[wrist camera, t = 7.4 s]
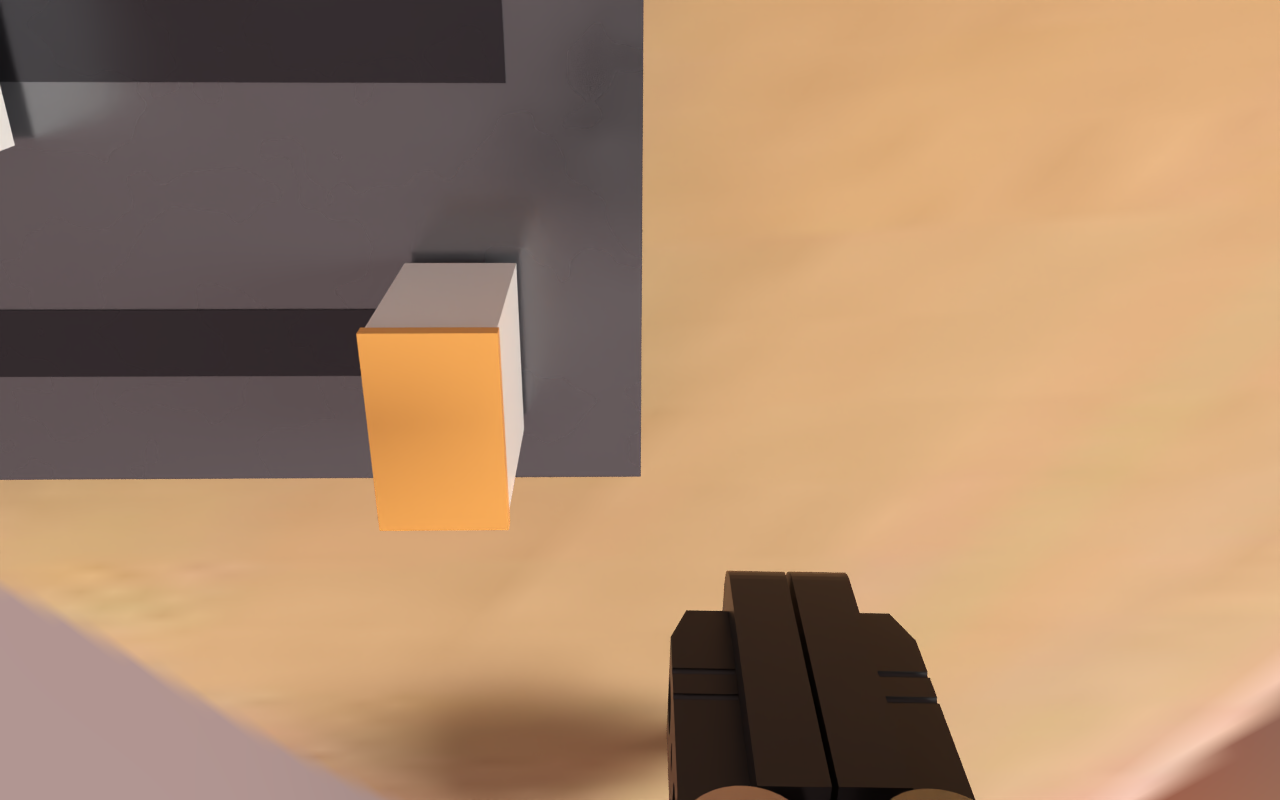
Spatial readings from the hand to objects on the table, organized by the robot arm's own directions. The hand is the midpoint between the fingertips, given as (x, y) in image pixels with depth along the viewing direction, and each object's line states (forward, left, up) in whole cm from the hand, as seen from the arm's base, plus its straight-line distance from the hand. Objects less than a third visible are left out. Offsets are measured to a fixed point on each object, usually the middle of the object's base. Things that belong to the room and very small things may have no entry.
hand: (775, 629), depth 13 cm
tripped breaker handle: (+5, +1, -11) cm, 12 cm away
